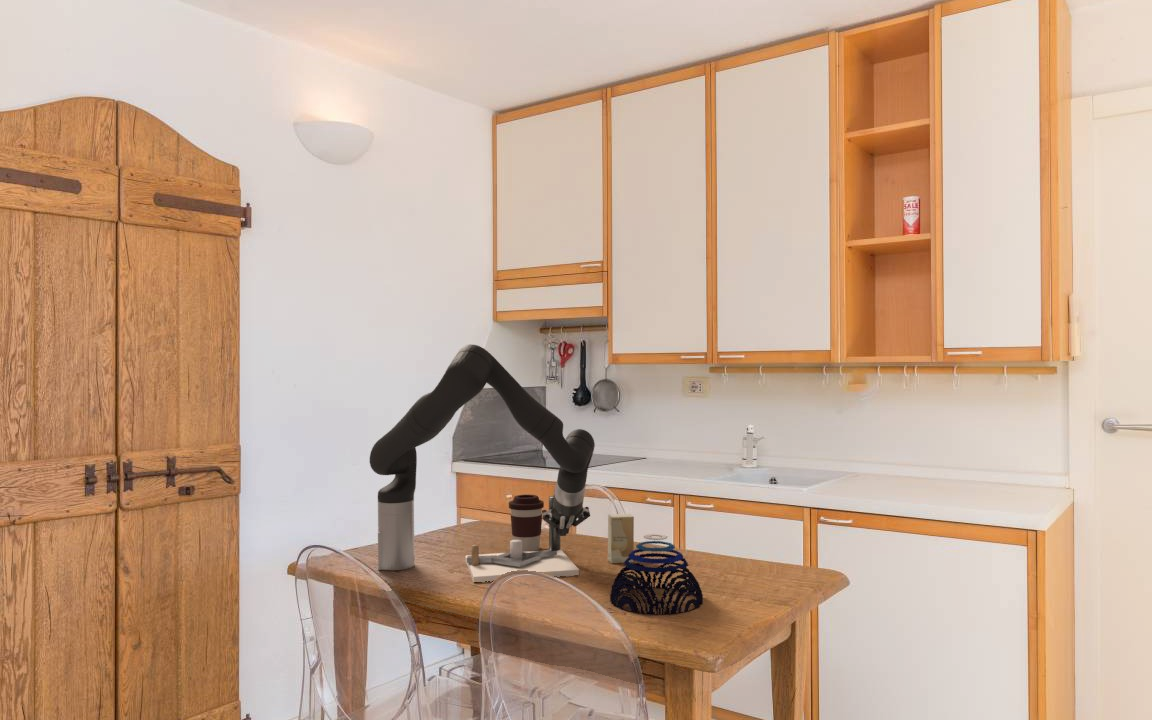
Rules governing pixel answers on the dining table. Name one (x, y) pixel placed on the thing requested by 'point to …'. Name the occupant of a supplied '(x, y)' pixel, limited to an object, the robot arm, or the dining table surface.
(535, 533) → the coffee cup
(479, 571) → the post base
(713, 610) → the dining table surface
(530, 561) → the grey angle bracket
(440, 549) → the dining table surface
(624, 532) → the skincare box
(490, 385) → the robot arm
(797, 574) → the dining table surface
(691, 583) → the decorative bowl
